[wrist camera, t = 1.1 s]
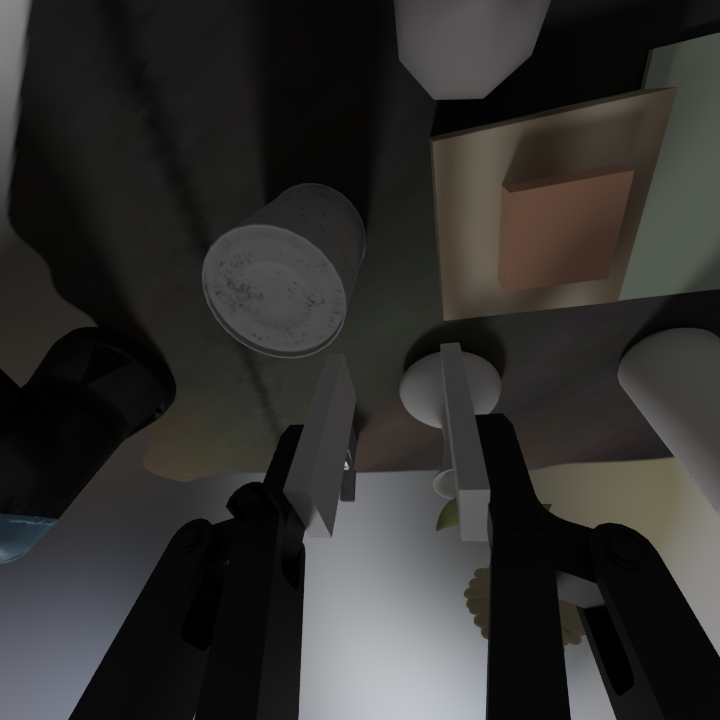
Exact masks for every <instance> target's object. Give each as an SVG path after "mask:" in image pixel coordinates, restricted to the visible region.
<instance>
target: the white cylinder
mask: <svg viewBox="0 0 720 720" xmlns="http://www.w3.org/2000/svg"><path fill="white" fill-rule="evenodd" d="M365 249H366V233H365V228H364V224H363V221H362V219H361V217H360V215H359V213H358V211H357V210H356V208H355V207H354V206H353V204H352V203H351V202H350V201H349V200H348V199H347V198H346V197H345V196H344V195H343V194H341V193H340V192H338V191H336V190H335V189H333V188H331V187H329V186H325V185H321V184H317V183H303V184H299V185H296V186H292V187H291V188H289V189H287V190H285V191H284V192H282V193H281V194H280V195H279V196H278V197H277V198H276V199H274V200H273V201H272V202H270V203H269V204H267V205H266V206H265V207H263V208H262V209H260V210H259V211H258V212H256V213H255V214H253V215H252V216H250V217H249V218H248V219H246V220H245V221H243V222H242V223H241V224H239V225H238V226H236V227H234V228H232V229H231V230H229V231H227V232H225V233H224V234H222V235H221V236H220V237H219V238H218V239H217V240H216V241H215V242H214V243H213V244H212V245H211V246H210V249H209V251H208V253H207V255H206V257H205V259H204V264H203V270H202V283H203V291H204V294H205V297H206V300H207V303H208V305H209V307H210V309H211V311H212V312H213V314H214V316H215V318H216V319H217V320H218V321H219V323H220V324H221V325H222V326H223V327H224V329H225V330H226V331H227V332H229V333H230V334H231V335H232V336H233V337H234V338H235V339H237V340H238V341H239V342H241V343H243V344H244V345H246V346H247V347H249V348H251V349H253V350H256V351H258V352H260V353H263V354H266V355H270V356H274V357H280V358H298V357H306V356H308V355H311V354H314V353H317V352H319V351H320V350H322V349H324V348H325V347H327V346H328V345H329V344H330V343H331V342H332V341H333V340H334V339H335V338H336V337H337V336H338V334H339V332H340V330H341V328H342V326H343V325H344V321H345V317H346V312H347V307H348V304H349V300H350V297H351V294H352V291H353V287H354V284H355V281H356V277H357V274H358V271H359V267H360V264H361V262H362V260H363V258H364V253H365Z"/></svg>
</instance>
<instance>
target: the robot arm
mask: <svg viewBox="0 0 720 720" xmlns="http://www.w3.org/2000/svg"><path fill="white" fill-rule="evenodd" d="M440 348H441V362H442V375H443V389H444V399H445V407H446V415H447V424H448V432H449V440H450V449H451V457H452V465H453V474H454V482H455V490H456V499H457V507H458V515H459V524H460V531H461V539H462V541H488V539H489V545H490V550H491V562H490V596H489V629H488V664H487V698H486V720H571V717H570V707H569V697H568V687H567V677H566V668H565V659H564V648H563V639H562V629H561V619H560V610H559V600H558V598H559V599H562V600H564V601H567V602H569V603H572V604H574V605H576V608H577V611H578V614H579V617H580V619H581V622H582V625H583V628H584V630H585V633H586V636H587V639H588V642H589V644H590V647H591V650H592V653H593V655H594V658H595V661H596V664H597V667H598V669H599V672H600V675H601V678H602V680H603V683H604V686H605V689H606V691H607V694H608V697H609V700H610V703H611V705H612V708H613V711H614V714H615V716H616V719H617V720H720V657H719V655H718V653H717V652H716V650H715V649H714V647H713V645H712V643H711V642H710V640H709V638H708V637H707V635H706V633H705V631H704V630H703V628H702V627H701V625H700V623H699V621H698V619H697V618H696V616H695V614H694V613H693V611H692V609H691V608H690V606H689V604H688V603H687V601H686V599H685V597H684V596H683V594H682V592H681V591H680V589H679V587H678V585H677V584H676V582H675V580H674V579H673V577H672V575H671V574H670V572H669V570H668V569H667V567H666V565H665V564H664V562H663V560H662V558H661V557H660V555H659V553H658V552H657V550H656V549H655V548H654V547H653V545H652V544H651V543H650V542H649V540H648V539H646V538H645V537H644V536H642V535H641V534H640V533H638V532H637V531H636V530H633V529H631V528H629V527H626V526H624V525H622V524H614V523H605V524H601V525H598V526H597V527H596V528H594V529H592V528H589V527H585V526H582V525H579V524H575V523H572V522H569V521H566V520H563V519H561V518H559V517H557V516H555V515H553V514H552V513H550V512H549V511H548V510H547V509H546V508H545V507H543V505H542V504H541V503H540V502H539V500H538V499H537V497H536V494H535V492H534V489H533V486H532V483H531V480H530V477H529V474H528V470H527V467H526V464H525V461H524V458H523V455H522V452H521V449H520V446H519V443H518V441H517V436H516V433H515V430H514V427H513V424H512V423H511V422H510V421H509V420H508V419H507V418H506V417H505V416H504V414H503V413H498V414H479V415H475V414H474V410H473V405H472V400H471V395H470V391H469V386H468V381H467V376H466V372H465V367H464V362H463V357H462V353H461V348H460V343H459V342H457V343H447V344H440ZM175 395H176V388H175V384H174V381H173V379H172V376H171V375H170V373H169V371H168V370H167V368H166V367H165V366H164V364H163V363H162V362H161V361H160V360H159V359H158V358H157V357H156V356H155V355H154V354H153V353H152V352H150V351H149V350H148V349H146V348H145V347H144V346H142V345H141V344H139V343H138V342H136V341H134V340H132V339H131V338H129V337H127V336H124V335H122V334H120V333H117V332H114V331H111V330H108V329H103V328H97V327H83V328H78V329H75V330H73V331H71V332H69V333H68V334H66V335H65V336H63V337H62V338H61V339H59V340H58V341H56V342H55V343H54V344H53V345H52V347H51V348H50V350H49V351H48V352H47V354H46V355H45V357H44V358H43V360H42V361H41V363H40V364H39V366H38V367H37V369H36V370H35V372H34V373H33V375H32V376H31V378H30V379H29V381H28V382H27V383H26V384H25V385H24V386H22V387H21V388H20V387H19V386H18V385H17V384H16V383H15V382H14V381H13V380H12V379H11V378H10V377H9V376H8V375H7V374H6V373H4V371H3V370H1V369H0V564H2V563H7V562H11V561H13V560H15V559H17V558H19V557H21V556H23V555H24V554H25V553H27V552H28V551H29V550H30V549H31V548H32V547H33V545H34V544H35V543H36V542H37V541H38V540H39V539H40V538H41V537H42V536H43V535H44V534H45V533H46V532H47V531H48V530H49V529H50V528H51V527H52V526H53V525H55V524H56V523H57V522H58V521H59V517H60V516H61V515H62V514H63V513H64V511H65V510H66V509H67V508H68V507H69V505H70V504H71V503H72V502H73V501H74V499H75V498H76V497H77V496H78V494H79V493H80V492H81V491H82V490H83V489H84V487H85V486H86V485H87V484H88V483H89V481H90V480H91V479H92V478H93V477H94V475H95V474H96V473H97V472H98V471H99V469H100V468H101V467H102V466H103V465H104V464H105V462H106V461H107V460H108V459H109V457H110V456H111V455H112V454H113V453H114V451H115V450H116V449H117V448H118V447H119V446H120V444H121V443H122V442H123V441H125V440H126V439H127V438H129V437H131V436H132V435H134V434H135V433H137V432H139V431H140V430H142V429H143V428H145V427H146V426H148V425H150V424H151V423H153V422H154V421H156V420H157V419H159V418H160V417H161V416H162V415H163V414H164V413H165V412H166V411H167V409H168V408H169V407H170V406H171V404H172V403H173V402H174V399H175ZM355 404H356V395H355V392H354V388H353V385H352V381H351V378H350V374H349V371H348V367H347V364H346V360H345V357H344V354H335V355H327V357H326V360H325V363H324V366H323V369H322V372H321V376H320V379H319V382H318V385H317V388H316V391H315V394H314V397H313V400H312V403H311V406H310V409H309V412H308V415H307V418H306V421H305V424H303V425H290V426H289V427H288V428H287V429H286V431H285V432H284V433H283V434H282V435H281V437H280V440H279V443H278V445H277V450H275V453H274V456H273V460H272V461H271V463H270V466H269V469H268V471H267V474H266V476H265V479H264V482H263V483H261V482H251V483H248V484H245V485H243V486H242V487H240V488H239V489H237V490H236V491H235V492H234V493H233V495H232V496H231V497H230V498H229V500H228V503H227V505H226V507H227V509H228V510H229V511H230V512H231V514H232V515H233V516H234V517H235V518H232V519H229V520H226V521H223V522H220V523H217V524H214V525H212V524H211V523H210V522H209V521H208V520H205V519H202V518H201V519H195V520H192V521H190V522H189V523H186V524H185V525H184V526H182V527H181V528H180V529H179V530H178V531H177V532H176V534H175V535H174V536H173V538H172V539H171V541H170V543H169V544H168V546H167V548H166V550H165V551H164V553H163V555H162V557H161V558H160V560H159V562H158V564H157V565H156V567H155V569H154V571H153V572H152V574H151V576H150V578H149V579H148V581H147V583H146V585H145V586H144V588H143V590H142V592H141V593H140V595H139V597H138V599H137V600H136V602H135V604H134V606H133V607H132V609H131V611H130V613H129V614H128V616H127V618H126V620H125V621H124V623H123V625H122V627H121V628H120V630H119V632H118V634H117V635H116V637H115V639H114V640H113V642H112V644H111V646H110V647H109V649H108V651H107V653H106V654H105V656H104V658H103V660H102V661H101V663H100V665H99V667H98V669H97V670H96V672H95V674H94V676H93V677H92V679H91V681H90V683H89V684H88V686H87V688H86V690H85V691H84V693H83V695H82V697H81V698H80V700H79V702H78V703H77V705H76V707H75V709H74V711H73V712H72V714H71V716H70V717H69V719H68V720H193V718H194V715H195V719H194V720H298V715H299V693H300V670H301V646H302V623H303V599H304V576H305V547H304V544H303V542H302V540H303V536H304V532H305V530H306V531H307V533H308V534H309V536H310V537H327V538H331V537H332V533H333V527H334V522H335V516H336V510H337V505H338V499H339V494H340V488H341V482H342V477H343V471H344V466H345V460H346V454H347V449H348V443H349V438H350V432H351V426H352V421H353V415H354V410H355ZM195 713H196V714H195Z"/></svg>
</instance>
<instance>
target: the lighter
mask: <svg viewBox="0 0 720 720" xmlns="http://www.w3.org/2000/svg"><path fill="white" fill-rule="evenodd" d="M356 449H357V439H356V435H355V431H354V427H353V425H352V426H351V432H350V438H349V443H348V449H347V454H346V460H345V466H344V471H343V477H342V482H341V489H340V500H341V501H343V502H354V501H355V481H356V471H355V470H354V469H353V468H354V463H355V456H356Z"/></svg>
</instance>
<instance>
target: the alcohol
mask: <svg viewBox="0 0 720 720" xmlns="http://www.w3.org/2000/svg"><path fill="white" fill-rule="evenodd" d="M618 380H619V382H620V385H621V386H622V387H623V389H624V390H625V391H626V393H627V394H628V395H629V397H630V398H631V399H632V401H633V402H634V403H635V405H636V406H637V407H638V409H639V410H640V411H641V413H642V414H643V415H644V417H645V418H646V419H647V421H648V422H649V423H650V425H651V426H652V427H653V428H654V430H655V431H656V432H657V434H658V435H659V436H660V438H661V439H662V440H663V442H664V443H665V444H666V446H667V447H668V448H669V450H670V451H671V452H672V454H673V455H674V456H675V458H676V459H677V460H678V462H679V463H680V464H681V466H682V467H683V468H684V470H685V471H686V472H687V474H688V475H689V476H690V478H691V479H692V480H693V482H694V483H695V484H696V486H697V487H698V488H699V490H700V491H701V492H702V494H703V495H704V496H705V497H706V499H707V500H708V501H709V503H710V504H711V505H712V507H713V508H714V509H715V510H716V512H717V513H718V514H719V516H720V338H719V337H717V336H716V335H715V334H713V333H712V332H709V331H707V330H704V329H697V328H672V329H666V330H662V331H659V332H656V333H653V334H651V335H649V336H647V337H645V338H643V339H641V340H640V341H638V342H637V343H636V344H634V345H633V346H632V347H631V348H630V349H629V350H628V351H627V352H626V353H625V355H624V356H623V358H622V360H621V362H620V366H619V370H618Z"/></svg>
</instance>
